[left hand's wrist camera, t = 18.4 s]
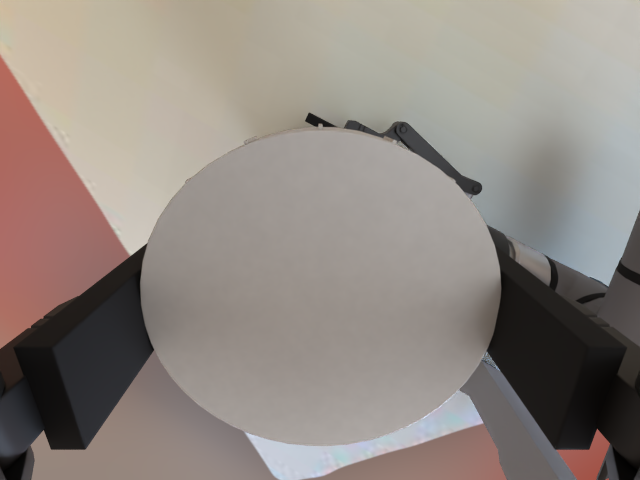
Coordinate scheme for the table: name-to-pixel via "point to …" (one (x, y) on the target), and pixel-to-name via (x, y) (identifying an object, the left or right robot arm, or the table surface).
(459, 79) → the table surface
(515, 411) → the vintage mobile phone
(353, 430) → the lid
